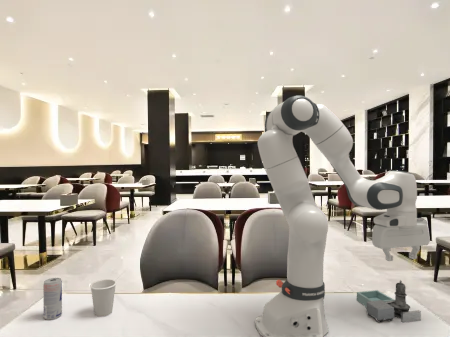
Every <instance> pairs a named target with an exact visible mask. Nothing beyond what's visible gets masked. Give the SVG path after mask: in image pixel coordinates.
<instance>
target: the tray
mask: <svg viewBox="0 0 450 337" xmlns="http://www.w3.org/2000/svg"><path fill="white" fill-rule="evenodd" d="M379 300H382V301H384V302H388V301H395V298H393V297H391V296H389V295H386V294H385V293H384V292H381V291H380V290H378V289H375V290H373V289H372V290H366V291H365V290H364V291H357V292H356V301H357V302H358V303H360V304H362V305H363V306H364V307H366V308H367V302H370V301H379Z"/></svg>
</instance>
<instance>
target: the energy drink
mask: <svg viewBox="0 0 450 337" xmlns="http://www.w3.org/2000/svg"><path fill="white" fill-rule="evenodd" d="M62 281H63V280H62V277H61V278H60V277H52V278H48V279H45V280H44V282H43V284H42V285H43V286H42V287H43V319H45V320H47V321H51V320H52V321H53V320H55V319H56V320H57V319H59V318H60V317H61V316H62V313H63V301H62V300H63V282H62Z"/></svg>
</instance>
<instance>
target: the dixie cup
mask: <svg viewBox="0 0 450 337" xmlns="http://www.w3.org/2000/svg"><path fill="white" fill-rule="evenodd" d="M89 285H90V286H89V287H90V290H91V292H90V293H91V298H92V305H93V312H94V313H93V314H94V316H95V317H96V318H97V317H98V318H103V317H107V316H109V315H111V314H112V313H113V308H114V303H115V302H114V301H115V300H114V299H115V294H116V293H115V292H116V285H117V281H116V280H114V279H100V280H96V281H94V282H92V283H91V284H89Z"/></svg>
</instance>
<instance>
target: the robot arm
mask: <svg viewBox="0 0 450 337" xmlns="http://www.w3.org/2000/svg"><path fill="white" fill-rule="evenodd" d="M264 121H265V122H264V132H263V133H262V134H261V135H260V136H259V138H258V139H257V147H258V148H257V149H258V152H259V156H260V160H261V162H262V165H263V168H264V170H265V173H266V175H267V178H268V180H269V182H270V184H271V187H272V189H273V191H274V194H275V196H276V199H277V201H278V204H279V206H280V208H281V211H282V213H283V216H284V218H285V220H286V223H287V225H288V246H287V256H286V257H287V258H286V260H287V261H286V267H287V268H286V271H287V272H286V277H287V278H286V279H285V281H284V282H283V281H282V280H281V279H277V280H276V283H275V285H276V286H277V287H278V288H281V291H280V292H279V293H278V294H276V295H275V296H274V297H273V298H271V299H269V300H268V302H266V303H265V304H264V306H263V311H262V315H260V316H257V317H256V319H255V321H254V322H255V325H254V326H255V327H256V330H257V331H258V333H259V334H260V336H262V337H324V336H326V335H327V334H328V332H329V326H328V322H327V318H326V311H325V295H326V290H325V286H326V285H325V282H324V258H325V251H326V245H327V243H326V242H327V237H328V231H329V222H328V218H327V215H326V214H325V213H324V211H323V210H322V209H320V208H319V207H318V205H317V203H316V201H315V198H314V195H313V193H312V189H311V186H310V182H309V179H308V177H307V174H306V173H305V170H304V168H303V166H302V163H301V160H300V157H299V156H298V154H297V152H296V149H295V147H294V143H293V141H294V140H293V137H294V136H296V135H297V134H299V133H301V132H302V133H304V134H305V135H307V136H308V138H310V140H311V141H312V142H313V144H314V145H315V147H316V148H317V149H318V151H320V153H322V155H323V156H324V157H325V158H326V160H327V161H328V162H329V164H330V165H331V167H332V168H333V170H334V172H335V173H336V174H337V175H338V176H337V177H339V178H340V180H341V182H342V183H343V185H344V186H345V188H346V193H347V196H348V199H349V201H350V202H351V203H352V204H353V205H355V206H357V207H361V208H368V209H371V210H372V209H373V210H376V211H381V210H386V212H384V213H382V214H379V215H376V216H375V217H373V223H374V224H375V225H373V228H372V232H371V233H372V235H371V238H372V239H371V242H372V245H373V246H374V247H375V248H376V249H377V248H378V249H381V250H382V251H383V254H384V255H385V261H387V262H393V261H394V255H391V249H394V248H395V249H397V248H408V247H410V248H411V252H408V258H409V259H411V260H417V259H418V256H417V255H418V254H419V252H420V249H421V246H428V245H429V244H430V242H431V241H430V240H431V239H430V231H429V226H428V221H427V220H426V219H425V218H424V217H418V208H417V206H416V202H417V199H418V187H417V184H418V183H417V179H416V176H415V175H414V174H413V173H411V172H408V171H403V170H390V171H388V173H386V174H385V175H384V176H382V177H380V178H377V179H375V180H373V179H371V180H370V179H367V178H365V177H363V176H362V175H361V174H360V172H358V169H357V168H356V166H355V165H354V164H353V162H352V161H351V158H350V155H349V154H350V152H351V150H352V148H353V145H354V139H353V137H352V135H351V133H350V131H349V129H348V128H347V127H346V125H345V124H344V123H343V122H342V120H341V119H340V118H339V117H338V116H337V115H336V114H335V113H334V112H333V111H332V110H330V108H329V107H327V106H326V105H325V104H323V103H314V102H313V101H312V100H311V99H310V98H308V97H306V96H304V95H301V94H300V95H293V96H290V97H288V98H287V99H286V100H284V101H283V102H281V103H279V104H277V105H276V106H275V107H274V108H273V109H272V110H271V111H270V112H269V113H268V114H267V116H266V117H265V120H264Z"/></svg>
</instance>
